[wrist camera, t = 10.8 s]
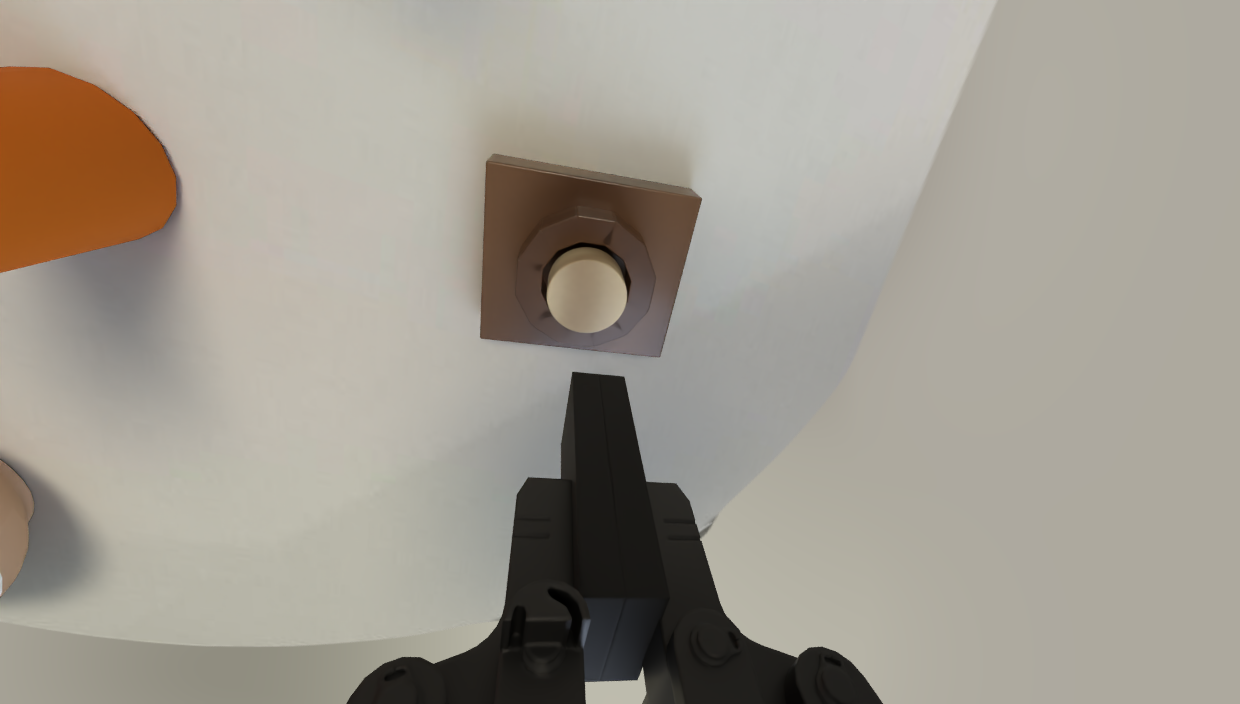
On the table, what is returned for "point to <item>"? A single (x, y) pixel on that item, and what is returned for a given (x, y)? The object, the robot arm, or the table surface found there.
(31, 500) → the bowl
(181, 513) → the table surface
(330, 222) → the table surface
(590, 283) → the button
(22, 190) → the spray bottle
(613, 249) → the button block
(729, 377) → the table surface
